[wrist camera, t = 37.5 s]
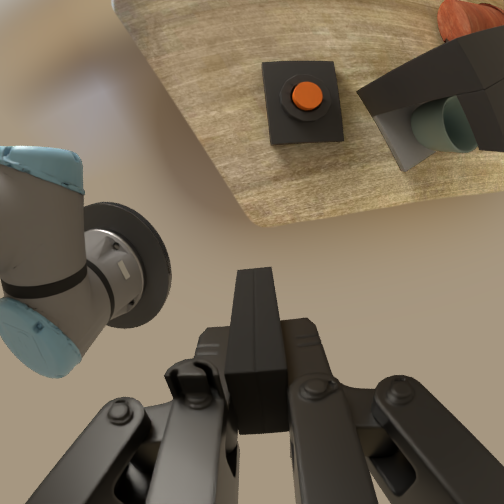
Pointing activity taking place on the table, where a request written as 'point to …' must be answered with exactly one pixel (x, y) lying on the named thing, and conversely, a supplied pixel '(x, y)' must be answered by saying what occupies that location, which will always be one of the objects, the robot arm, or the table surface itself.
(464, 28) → the potted plant
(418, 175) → the table surface
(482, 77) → the coffee maker
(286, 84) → the control pad
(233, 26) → the table surface
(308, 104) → the button
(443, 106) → the cup
